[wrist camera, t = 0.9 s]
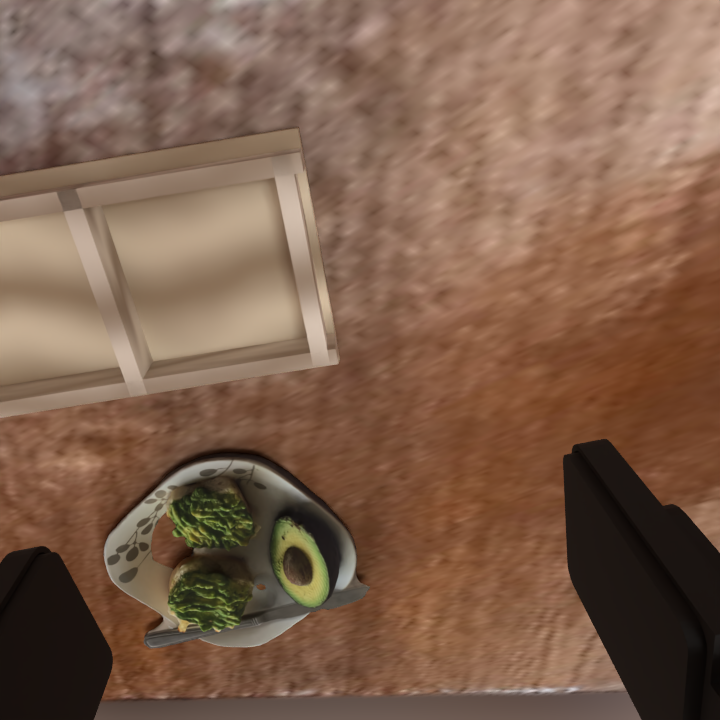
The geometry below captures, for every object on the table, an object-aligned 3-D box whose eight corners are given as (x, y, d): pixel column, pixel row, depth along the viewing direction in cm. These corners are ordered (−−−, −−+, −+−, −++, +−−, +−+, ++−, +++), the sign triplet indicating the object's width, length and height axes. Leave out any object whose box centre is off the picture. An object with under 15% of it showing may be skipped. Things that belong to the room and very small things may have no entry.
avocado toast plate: (224, 673, 51) (215, 726, 47) (54, 562, 45) (26, 611, 40) (394, 557, 46) (402, 604, 42) (232, 415, 40) (221, 453, 36)
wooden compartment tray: (-126, 196, 32) (-177, 208, 29) (298, 127, 32) (296, 131, 29) (-20, 410, 38) (-52, 441, 35) (339, 353, 38) (341, 378, 35)
